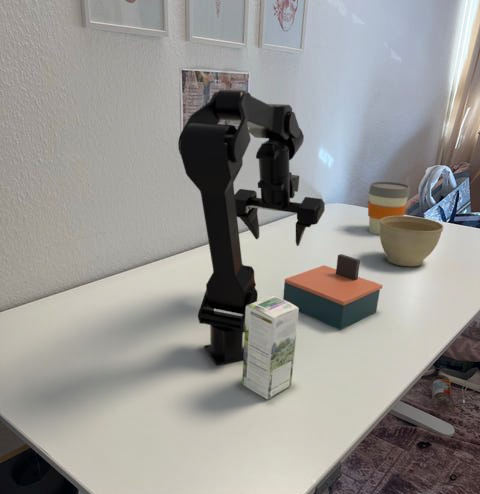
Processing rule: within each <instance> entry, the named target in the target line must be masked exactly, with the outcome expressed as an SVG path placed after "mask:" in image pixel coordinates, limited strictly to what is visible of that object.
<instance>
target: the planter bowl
mask: <svg viewBox="0 0 480 494" xmlns="http://www.w3.org/2000/svg"><path fill="white" fill-rule="evenodd" d="M444 227H445V226H444V224H443V223H441V222H439V221H436V220H433V219H429V218H425V217H419V216H408V215H404V216H389V217H384V218H382V219H381V220H380V235H379V239H380V240H379V241H380V244H381V247H382V249H383V251H384V253H385V255H386V260H387V261H388V262H389V263H391V264H394V265H396V266H403V267H419V266H421V265H422V264H424V263H423V262H424V260H425V259H426V258H428V257H429V256H430V255H432V253H433V251H434V250H435V248H436V247H437V245H438V243H439V241H440V239H441V235H442V232H443V230H444Z"/></svg>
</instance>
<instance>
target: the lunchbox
mask: <svg viewBox="0 0 480 494" xmlns="http://www.w3.org/2000/svg"><path fill="white" fill-rule="evenodd" d="M380 291H381V289H380V290H377V291H375V292H373V293H371V294H368V295H366V296H364V297H362V298H360V299H357V300H355V301H353V302H351V303H348V304H346V305H344V306H343V305H341V304H338V303H336V302H333V301H331V300H328V299H326V298H323V297H321V296H318V295H316V294H313V293H311V292H308V291H306V290H303V289H300V288H298V287H295V286H293V285H290V284H288V283H285V282H284V283H283V297H282V299H283V300H285V301H288V302H290V303H291V304H293V305H295V306H297V307H298V308H299V312H298V313H300V314H303V315H305V316H307V317H310V318H312V319H314V320H316V321H319V322H321V323H323V324H325V325H327V326H330V327H332V328H335V329H337V330H339V331H342V330H344V329H346V328H348V327H350V326H352V325H354V324H356V323H358V322H360V321H362V320H364V319H366V318H368V317H370V316H372V315H375V314H376V313H377V311H378V303H379V297H380Z"/></svg>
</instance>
